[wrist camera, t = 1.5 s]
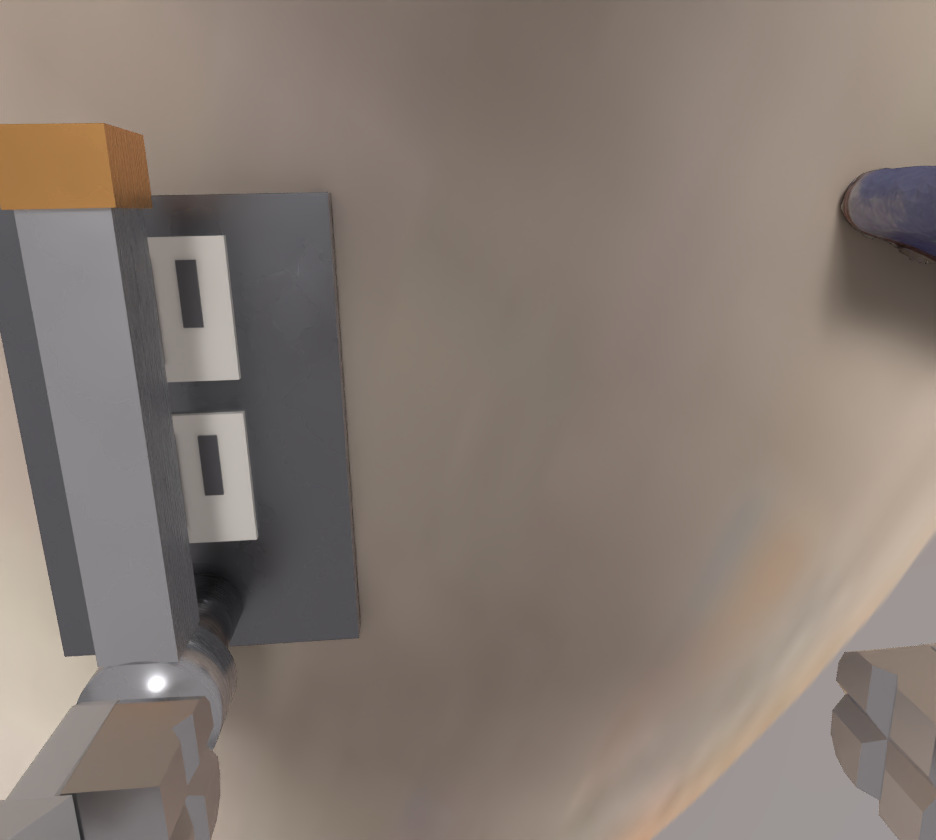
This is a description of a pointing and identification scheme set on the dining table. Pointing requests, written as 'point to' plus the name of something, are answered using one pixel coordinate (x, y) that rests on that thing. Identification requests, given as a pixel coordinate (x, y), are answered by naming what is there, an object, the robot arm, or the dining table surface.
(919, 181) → the flask
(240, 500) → the plate
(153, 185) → the dining table surface
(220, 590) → the dark grey cylinder
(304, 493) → the chassis plate
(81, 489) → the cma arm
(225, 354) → the label plate
